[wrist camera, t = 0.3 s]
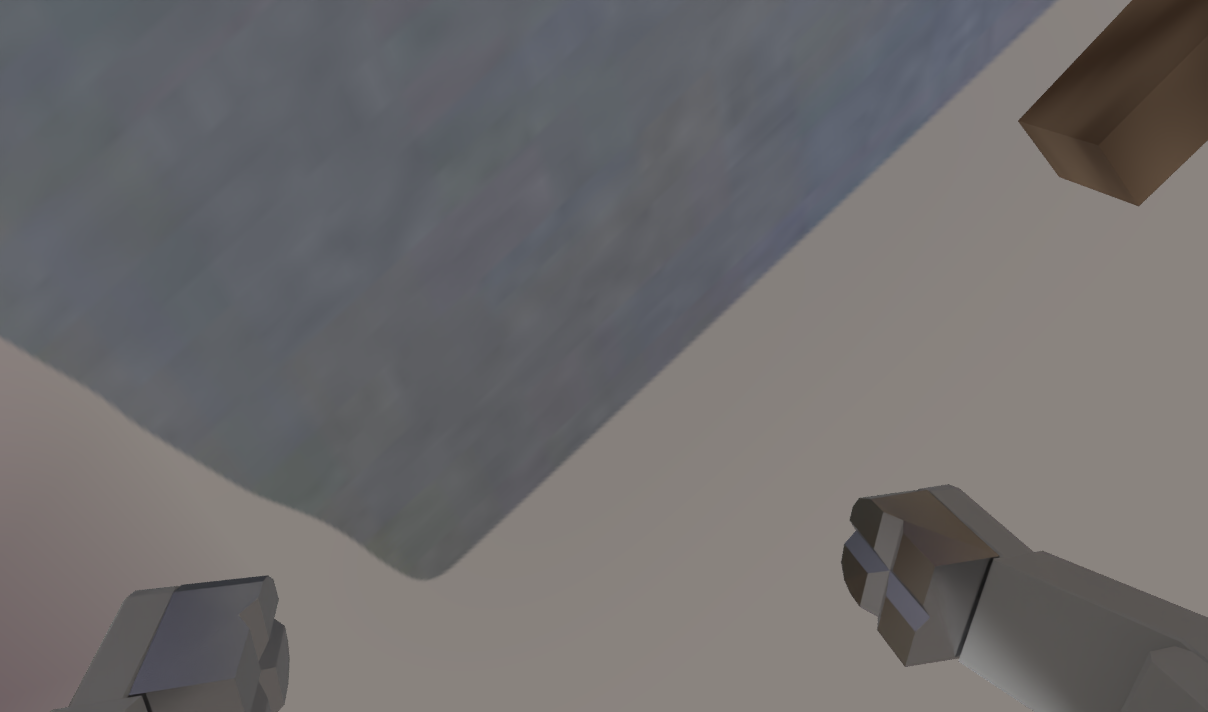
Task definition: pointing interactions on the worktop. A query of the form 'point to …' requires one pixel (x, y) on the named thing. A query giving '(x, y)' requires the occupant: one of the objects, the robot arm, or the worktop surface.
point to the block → (1129, 101)
